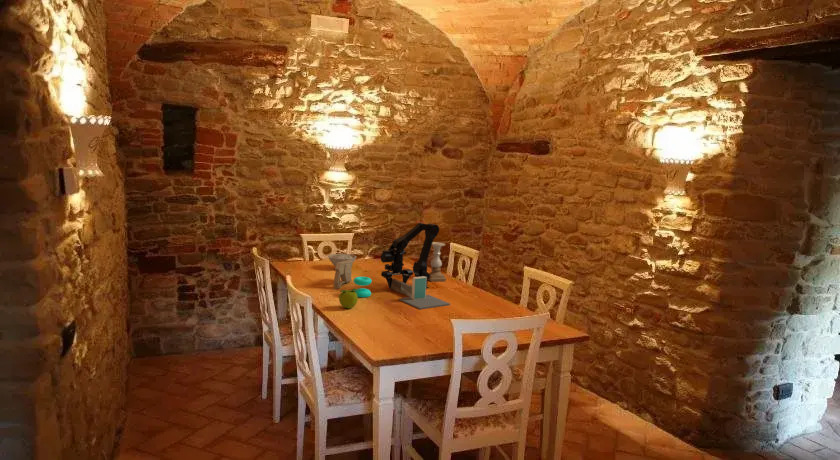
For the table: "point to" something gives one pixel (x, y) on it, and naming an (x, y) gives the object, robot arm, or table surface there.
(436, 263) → the candle holder
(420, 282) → the tile
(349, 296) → the fruit
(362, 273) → the table surface
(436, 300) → the grey square plate
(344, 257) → the bowl
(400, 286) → the brown upright panel
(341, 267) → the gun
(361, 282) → the donuts
